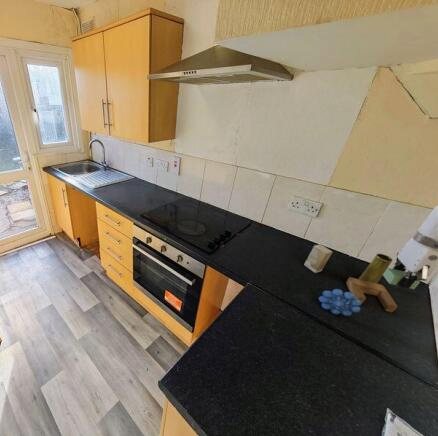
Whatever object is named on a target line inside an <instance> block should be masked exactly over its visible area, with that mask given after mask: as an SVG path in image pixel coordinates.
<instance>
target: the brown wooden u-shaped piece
mask: <svg viewBox="0 0 438 436" xmlns="http://www.w3.org/2000/svg"><path fill="white" fill-rule="evenodd" d="M345 284H346V286H347V289H348V290H349V292H351V293H353V294H354V296H355V297H354V298H356V299H359V300H360V301H361V303H362V304H364V302H365V301H366V299H367V297H366V296H365V294H367V295H371V296H374V297H377V299H378V300H379V302H380V304H381V305H382V307H383V309H384V310H385V311H386V312H389V313H394V312H395V310H397V308H398V305H397V304H396V302H395V301H394V299H393V297H392V296H391V295H390V293H389V292H388V290H387V289H386V287H385V285H384V284H380V283H377V284H376V283H372V282H368V281H364V280H360V279H359V278H355V277H351V276H349V277H348V278H347V280H346V282H345Z"/></svg>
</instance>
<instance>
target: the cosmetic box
mask: <svg viewBox="0 0 438 436" xmlns="http://www.w3.org/2000/svg"><path fill="white" fill-rule="evenodd" d="M332 254H333V251H332V250H331V249H329V248H328V247H326V246H325V245H323V244H321V243H319V244H315V245H313V246H312V249H311V251H310V252H309V255H308V257H307V258H306V260H305V262H304V264H303V265H304V266H305V267H306V268H307V269H309V270H310V271H311V272H313V273H314V274H317V273H320V272H322V271H323V269H324V268H325V266H326V264H327V262H328V261H329V259H330V258H331V255H332Z"/></svg>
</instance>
